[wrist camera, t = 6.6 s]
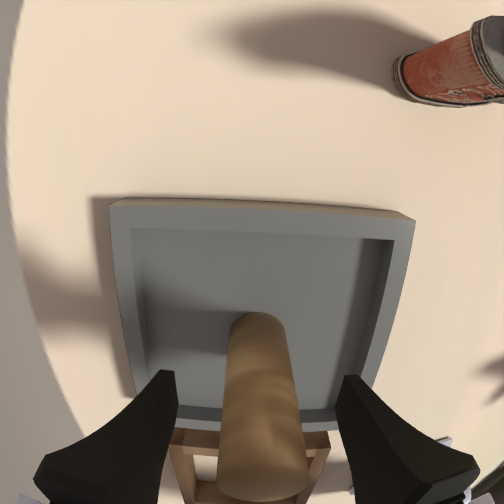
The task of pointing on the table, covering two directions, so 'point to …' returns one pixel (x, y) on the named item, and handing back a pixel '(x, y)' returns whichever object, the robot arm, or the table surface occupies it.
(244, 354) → the pin
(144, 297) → the tray
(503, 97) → the lighter
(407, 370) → the table surface
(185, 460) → the holder
